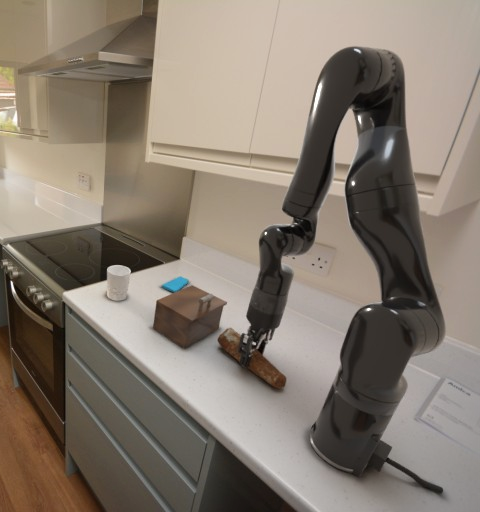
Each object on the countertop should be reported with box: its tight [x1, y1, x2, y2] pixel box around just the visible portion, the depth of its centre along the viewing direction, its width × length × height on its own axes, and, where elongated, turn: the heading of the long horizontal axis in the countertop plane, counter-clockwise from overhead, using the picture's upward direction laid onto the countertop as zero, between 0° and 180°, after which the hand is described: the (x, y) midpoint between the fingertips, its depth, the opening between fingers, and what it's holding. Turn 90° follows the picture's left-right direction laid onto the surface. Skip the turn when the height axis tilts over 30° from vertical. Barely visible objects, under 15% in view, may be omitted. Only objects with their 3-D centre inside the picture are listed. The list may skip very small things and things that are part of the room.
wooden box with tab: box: [155, 284, 228, 323], centre depth 97 cm, size 12×17×4 cm
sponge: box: [161, 276, 190, 293], centre depth 126 cm, size 2×12×6 cm
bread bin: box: [152, 302, 224, 350], centre depth 100 cm, size 12×17×9 cm
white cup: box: [106, 264, 132, 302], centre depth 115 cm, size 8×8×10 cm
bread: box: [217, 327, 288, 389], centre depth 87 cm, size 6×19×6 cm, turn 24°
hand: (250, 360), depth 87 cm, fingers open, 6 cm apart
